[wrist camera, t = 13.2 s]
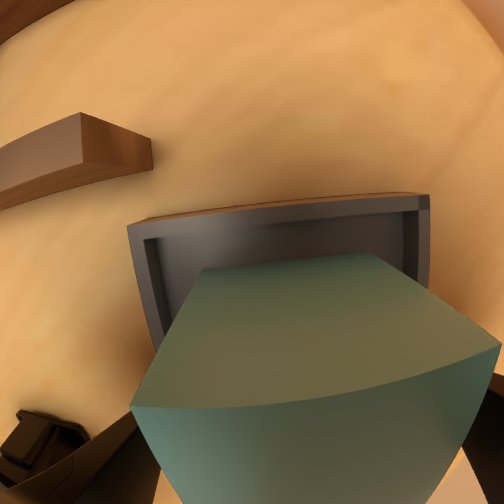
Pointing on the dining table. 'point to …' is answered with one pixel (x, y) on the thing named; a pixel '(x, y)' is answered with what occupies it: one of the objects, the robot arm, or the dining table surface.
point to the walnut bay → (62, 137)
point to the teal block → (313, 385)
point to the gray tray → (273, 242)
